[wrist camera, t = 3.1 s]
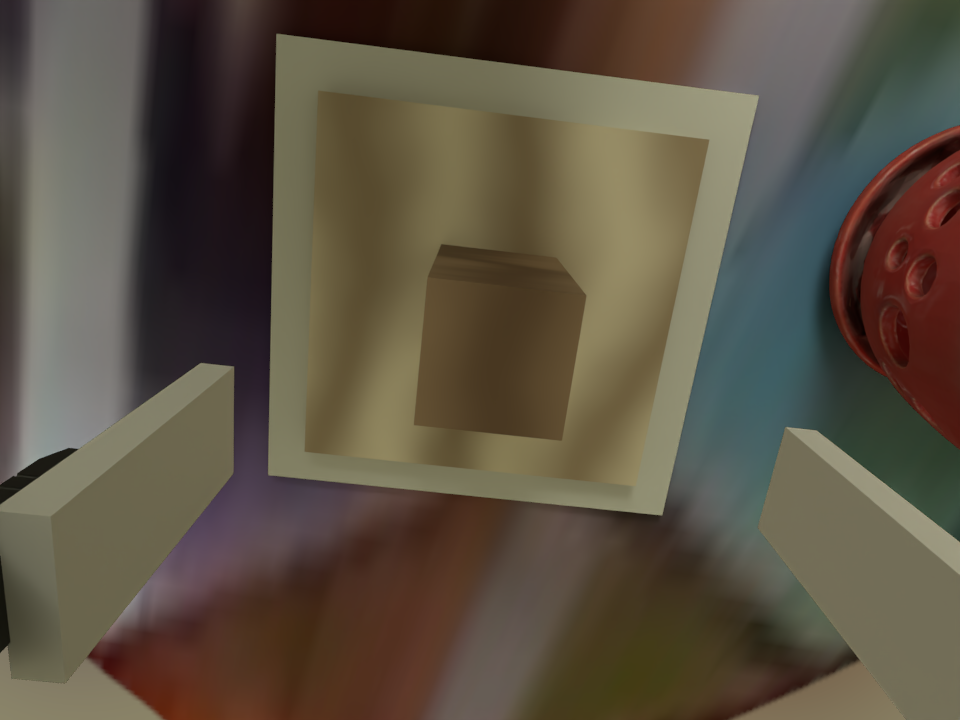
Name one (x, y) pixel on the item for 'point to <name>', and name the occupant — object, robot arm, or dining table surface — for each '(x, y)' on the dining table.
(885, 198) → the plant pot
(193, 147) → the dining table surface
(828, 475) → the robot arm
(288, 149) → the mat
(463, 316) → the lid
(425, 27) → the dining table surface
